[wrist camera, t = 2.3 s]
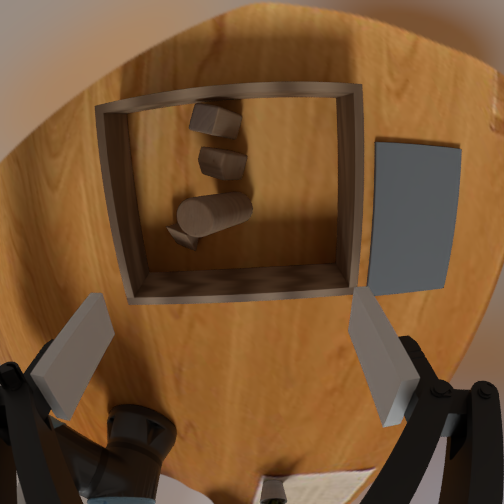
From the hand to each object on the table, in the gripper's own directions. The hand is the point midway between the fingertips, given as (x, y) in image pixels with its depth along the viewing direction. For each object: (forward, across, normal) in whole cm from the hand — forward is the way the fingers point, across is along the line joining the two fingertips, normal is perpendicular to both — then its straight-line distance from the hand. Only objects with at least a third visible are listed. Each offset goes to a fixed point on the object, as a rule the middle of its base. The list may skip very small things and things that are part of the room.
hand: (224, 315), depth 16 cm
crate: (+26, +1, -1) cm, 26 cm away
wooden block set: (+26, +3, -2) cm, 26 cm away
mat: (+26, -24, +4) cm, 36 cm away
